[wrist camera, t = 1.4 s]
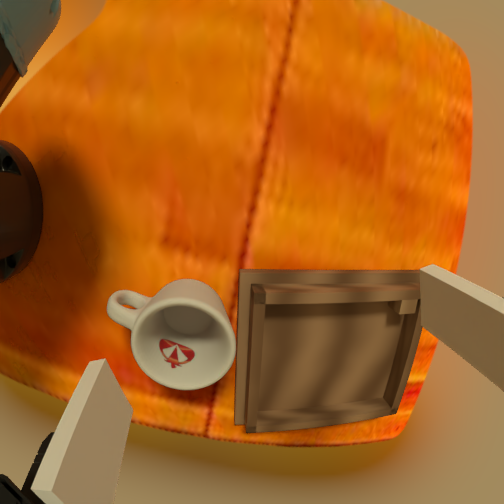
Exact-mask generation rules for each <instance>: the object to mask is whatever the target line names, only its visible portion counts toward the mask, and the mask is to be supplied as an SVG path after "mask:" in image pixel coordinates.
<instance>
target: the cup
mask: <svg viewBox="0 0 504 504" xmlns="http://www.w3.org/2000/svg"><path fill="white" fill-rule="evenodd" d="M122 304H125V305H130V306H133V307H135V308H136V309H128V308H126V307H123V306H121V305H122ZM107 313H108V315H109V317H110V318H111V319H112V320H113V321H115V322H117V323H118V324H120V325H122V326H124V327H126V328H128V329H130V330H131V331H132V333H131V347H132V352H133V355H134V358H135V360H136V362H137V363H138V365H139V366H140V368H141V369H142V370H143V371H144V373H146V374H147V375H148V376H149V377H150V378H151V379H153V380H154V381H156V382H157V383H159V384H162V385H164V386H166V387H169V388H173V389H178V390H195V389H200V388H204V387H207V386H209V385H211V384H213V383H215V382H217V381H218V380H219V379H221V378H222V377H223V376H224V375H225V374H226V373H227V371H228V370H229V369H230V367H231V365H232V363H233V361H234V358H235V353H236V340H235V335H234V332H233V329H232V326H231V324H230V321H229V318H228V316H227V313H226V311H225V308H224V305H223V303H222V301H221V299H220V297H219V296H218V294H217V293H216V292H215V291H214V290H213V289H212V288H211V287H210V286H208V285H207V284H205V283H203V282H201V281H198V280H194V279H180V280H176V281H173V282H171V283H169V284H167V285H166V286H164V287H163V288H162V289H161V290H160V291H159V292H158V293H157V294H156V295H155V296H154V297H152V298H149V297H146V296H144V295H141V294H139V293H136V292H133V291H129V290H120V291H117V292H115V293H113V294H112V295H111V296H110V298H109V300H108V304H107Z"/></svg>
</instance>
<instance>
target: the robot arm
mask: <svg viewBox="0 0 504 504" xmlns="http://www.w3.org/2000/svg"><path fill="white" fill-rule="evenodd" d="M60 14H61V1H60V0H0V107H1V106H2V104H3V102H4V101H5V99H6V98H7V96H8V94H9V93H10V91H11V90H12V88H13V87H14V85H15V83H16V82H17V81H18V79H19V78H20V76H21V77H23V76H24V75H25V74H26V72H27V66H28V65H29V63H30V62H31V60H32V59H33V57H34V56H35V54H36V53H37V52H38V50H39V49H40V47H41V46H42V45H43V43H44V42H45V41H46V39H47V38H48V37H49V36H50V34H51V33H52V32H53V30H54V29H55V27H56V25H57V23H58V21H59V18H60ZM42 218H43V205H42V196H41V190H40V185H39V182H38V178H37V175H36V173H35V171H34V168H33V166H32V164H31V163H30V161H29V160H28V158H27V157H26V155H25V154H24V153H23V152H22V151H21V150H20V149H19V148H18V147H16V146H15V145H13V144H11V143H9V142H7V141H3V140H0V283H2V282H4V281H6V280H8V279H10V278H11V277H13V276H15V275H17V274H18V273H19V272H21V271H22V270H23V269H24V268H25V267H26V265H27V264H28V263H29V261H30V260H31V258H32V256H33V254H34V252H35V250H36V248H37V245H38V242H39V238H40V234H41V228H42ZM420 291H421V326H423V327H424V328H425V329H426V330H428V331H429V332H430V333H432V334H433V335H434V336H435V337H437V338H438V339H439V340H441V341H442V342H443V343H444V344H446V345H447V346H448V347H450V348H451V349H452V350H453V351H455V352H456V353H457V354H458V355H460V356H461V357H462V358H463V359H465V360H466V361H467V362H468V363H470V364H471V365H472V366H473V367H474V368H476V369H477V370H478V371H479V372H481V373H482V374H483V375H484V376H486V377H487V378H488V379H489V380H490V381H492V382H493V383H494V384H495V385H497V386H498V387H499V388H500V389H501V390H503V391H504V298H503V297H500V296H498V295H496V294H494V293H492V292H490V291H488V290H486V289H484V288H482V287H480V286H478V285H476V284H474V283H472V282H470V281H468V280H466V279H463V278H462V277H460V276H457V275H455V274H453V273H451V272H449V271H447V270H445V269H443V268H441V267H438V266H436V265H434V264H432V265H429V266H427V267H424V268H421V269H420ZM132 413H133V409H132V407H131V405H130V404H129V402H128V400H127V398H126V397H125V395H124V393H123V391H122V389H121V387H120V386H119V384H118V382H117V380H116V378H115V376H114V374H113V372H112V370H111V368H110V367H109V365H108V363H107V361H106V359H101V360H96V361H91V362H89V364H88V366H87V368H86V370H85V372H84V373H83V375H82V377H81V379H80V381H79V383H78V385H77V387H76V389H75V391H74V393H73V395H72V397H71V399H70V401H69V403H68V405H67V407H66V409H65V411H64V414H63V416H62V418H61V420H60V422H59V424H58V426H57V428H56V431H55V432H52V433H50V434H49V435H48V437H47V438H46V439H45V440H44V441H43V442H42V444H41V447H40V448H39V451H38V455H36V457H35V459H34V463H33V464H32V466H31V468H30V471H29V473H28V476H27V478H26V480H25V483H24V485H23V487H22V490H20V489H19V488H18V487H17V486H16V485H15V484H14V483H13V482H12V481H11V480H10V479H9V478H8V477H7V476H5V475H3V474H0V504H114V499H115V494H116V488H117V483H118V478H119V473H120V468H121V462H122V458H123V453H124V449H125V444H126V439H127V434H128V430H129V426H130V422H131V418H132Z"/></svg>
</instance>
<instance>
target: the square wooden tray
mask: <svg viewBox="0 0 504 504" xmlns="http://www.w3.org/2000/svg"><path fill="white" fill-rule="evenodd" d="M422 327H423V326H421V291H420V270H267V269H239V286H238V313H237V343H236V374H235V410H234V420H235V425H238V424H245V426H246V433H256V432H273V431H286V430H297V429H306V428H315V427H323V426H330V425H337V424H344V423H350V422H356V421H362V420H367V419H373V418H378V417H383V416H387V415H392V414H396V413H397V410H398V407H399V404H400V402H401V399H402V396H403V393H404V390H405V387H406V384H407V380H408V377H409V374H410V371H411V367H412V364H413V361H414V357H415V354H416V350H417V346H418V343H419V339H420V335H421V331H422Z"/></svg>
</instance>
